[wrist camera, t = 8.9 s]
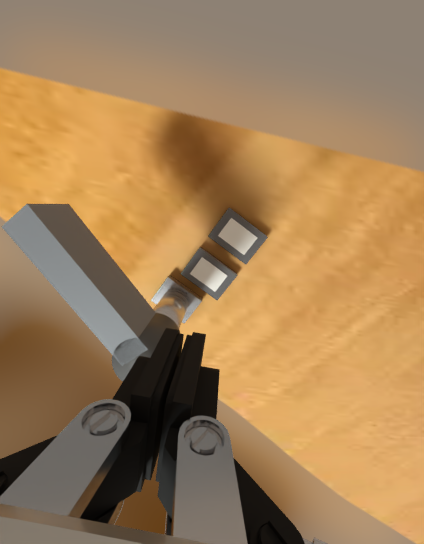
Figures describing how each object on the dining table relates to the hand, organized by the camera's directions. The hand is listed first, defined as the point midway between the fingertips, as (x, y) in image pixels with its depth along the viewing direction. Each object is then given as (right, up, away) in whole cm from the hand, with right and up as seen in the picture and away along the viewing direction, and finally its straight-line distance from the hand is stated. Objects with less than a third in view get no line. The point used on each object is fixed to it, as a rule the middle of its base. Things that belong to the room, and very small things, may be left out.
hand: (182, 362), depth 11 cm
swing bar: (-5, +3, +7) cm, 9 cm away
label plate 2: (+4, +7, +14) cm, 16 cm away
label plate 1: (+1, +4, +15) cm, 15 cm away
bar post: (-2, +1, +15) cm, 16 cm away
